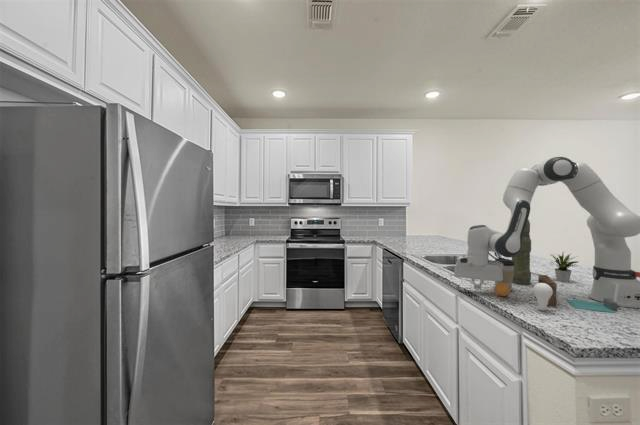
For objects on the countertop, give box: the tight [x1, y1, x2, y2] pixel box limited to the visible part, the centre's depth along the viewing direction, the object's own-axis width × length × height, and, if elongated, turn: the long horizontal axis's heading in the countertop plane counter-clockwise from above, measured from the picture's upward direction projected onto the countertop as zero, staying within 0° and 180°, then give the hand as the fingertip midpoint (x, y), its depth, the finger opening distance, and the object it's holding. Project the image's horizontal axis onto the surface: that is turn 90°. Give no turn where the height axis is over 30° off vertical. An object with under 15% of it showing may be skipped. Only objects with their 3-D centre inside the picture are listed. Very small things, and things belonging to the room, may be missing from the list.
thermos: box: [511, 218, 532, 286], centre depth 152 cm, size 9×12×35 cm
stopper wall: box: [603, 298, 618, 312], centre depth 115 cm, size 2×6×3 cm, turn 154°
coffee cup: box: [494, 257, 514, 292], centre depth 142 cm, size 9×9×15 cm
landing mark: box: [565, 298, 617, 314], centre depth 118 cm, size 12×12×1 cm
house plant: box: [549, 251, 579, 283], centre depth 156 cm, size 14×14×16 cm
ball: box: [493, 283, 511, 297], centre depth 131 cm, size 6×6×6 cm
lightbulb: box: [532, 283, 553, 312], centre depth 113 cm, size 6×6×11 cm
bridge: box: [537, 274, 558, 308], centre depth 124 cm, size 3×15×10 cm, turn 154°
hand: (477, 288), depth 136 cm, fingers closed
